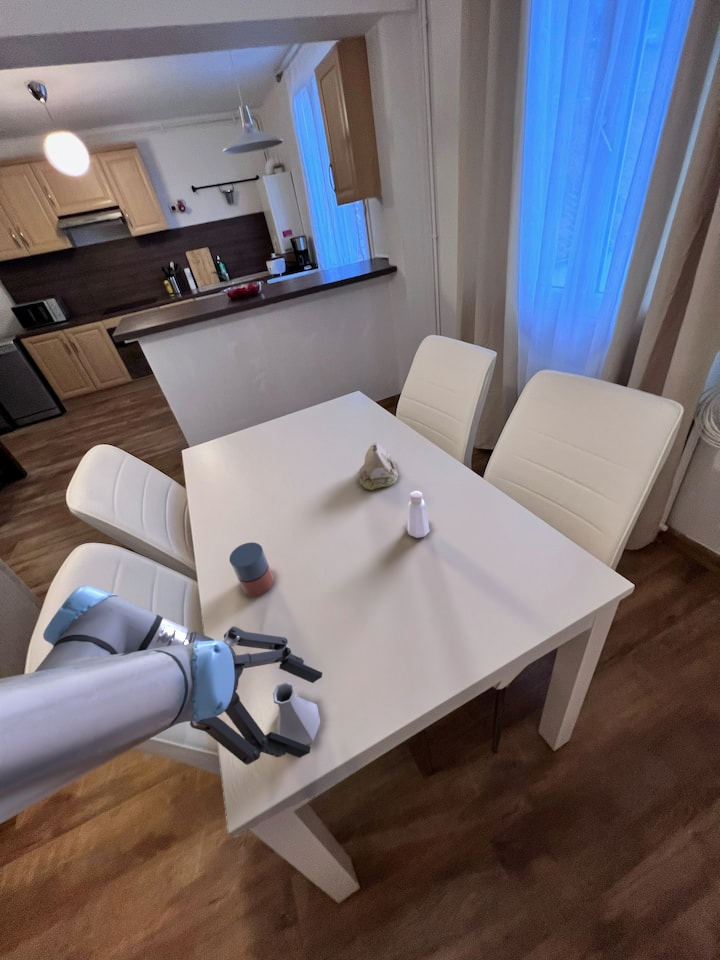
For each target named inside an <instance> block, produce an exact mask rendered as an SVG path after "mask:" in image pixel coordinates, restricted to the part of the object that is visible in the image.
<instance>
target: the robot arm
mask: <svg viewBox="0 0 720 960" xmlns="http://www.w3.org/2000/svg"><path fill="white" fill-rule="evenodd" d="M42 635H43V636H42V637H43V640H44V641H46V643H49V644H51V646H52V648H51V650H49V652H48V653H47V654H46V656H45V657H44V659H43V660H42V661H41V663H40V664H39V665H38V666H37V668H36V669H35V670H34V671H33V672H28V673H22V674H17V675H12V676H7V677H1V678H0V825H1V824H2V823H4V822H6V821H8V820H10V819H12V818H13V817H15V816H17V815H18V814H20V813H22V812H24V811H26V810H27V809H29V808H30V807H31V808H32V807H33V806H34V805H36V804H38V803H39V802H41V801H43V800H45V799H47V798H49V797H50V796H52V795H54V794H56V793H57V792H59V791H61V790H62V789H64V788H66V787H68V786H70V785H71V784H73V783H75V782H77V781H78V780H80V779H82V778H83V777H85V776H87V775H89V774H90V773H92V772H94V771H96V770H98V769H99V768H101V767H103V766H104V765H106V764H108V763H111V762H112V761H113V760H115V759H117V758H119V757H120V756H122V755H125V754H126V753H128V752H129V751H131V750H133V749H134V748H136V747H138V746H140V745H141V744H143V743H146V742H147V741H149V740H150V739H152V738H154V737H155V736H158V735H159V734H161V733H163V732H165V731H167V730H168V729H171V728H172V727H174V726H176V725H179V724H181V723H187V722H188V723H189V725H190V727H191V728H192V729H195V730H198V731H202V732H205V733H207V734H208V735H209V736H210V737H211V738H213V739H214V740H215V741H216V742H217V743H218V744H220V745H221V746H222V747H223V748H225V749H226V750H227V751H228V752H230V753H231V754H232V755H233V756H234V757H236V758H237V759H238V760H239V761H241V762H242V764H244V765H246V766H248V765H250V764H253V763H255V762H256V761H258V760H259V759H260V757H261V754H262V753H263V754H266V755H269V756H272V757H275V758H282V757H283V756H285V755H286V754H287V755H288V754H289V755H291V756H293V757H296V758H299V759H300V758H302V757H305V756H306V755H308V754H310V753H311V746H310V745H308V744H302V743H299V742H297V741H294V740H291V739H289V738H286V737H284V736H281V735H278V733H275V732H273V731H270V732H268V733H267V734H265V733H264V732H263V730H262V729H261V728H260V726H259V725H258V723H257V722H256V720H255V718H253V717H252V715H251V714H250V712H249V711H248V710H247V708H246V707H245V706H244V704H243V703H242V702H241V700H240V699H241V698H240V695H239V694H238V693H237V690H238V687H239V682H240V681H239V680H240V677H241V676H242V674H243V671H244V669H249V668H255V667H261V666H266V665H267V666H268V665H271V664H277V663H279V666H278V670H279V669H280V670H281V671H284V672H286V673H288V674H291V675H293V676H295V677H297V678H300V679H302V680H304V681H307V682H309V683H311V684H314V683H315V682H317V681H319V680H320V679H322V677H323V672H322V671H319V670H317V669H316V668H312V667H310V666H309V665H307V664H304V663H305V660H304V659H303V658H301V657H299V656H297V655H296V654H293V653H292V650H291V648H290V647H288V646H287V644H288V639H287V638H286V637H284V636H277V635H271V634H264V633H257V632H249V631H244V630H243V629H242V628H239V627H237V626H235V625H234V626H231V627H230V628H229V629H228V630H227V631H226V632H225V633H224V634H223V640H219V639H216V640H215V639H214V638H211V637H209V636H207V635H205V634H203V633H200V632H198V631H192V632H190V633H189V628H188V627H186V626H184V625H181V624H179V623H177V622H175V621H172V620H171V619H169V618H166V617H163V616H162V615H159V614H157V613H154V612H152V611H151V610H148V609H146V608H143V607H142V606H139V605H137V604H135V603H133V602H131V601H129V600H127V599H125V598H123V597H120V596H118V595H117V594H115V593H112V592H108V591H105V590H102V589H100V588H97V587H94V586H92V585H81V586H79V587H77V588H76V589H75V590H74V591H72V593H71V594H70V595H68V597H67V598H66V600H65V601H64V602H63V604H62V605H61V607H59V608H58V610H57V611H56V613H55V614H54V616H53V617H52V618H51V619H50V621H49V623H48V624H47V626H46V627H45V629H44V631H43V634H42ZM235 646H238V647H246V648H253V649H260V650H261V649H263V650H268V651H263V652H256V653H242V654H236V652H235V651H234V649H233V647H235ZM269 650H270V651H269ZM223 713H226V715H227V716H228V718H229V719H230V720H231V723H233V725H234V726H235V728H236V729H237V731H238V732H239V733H240V734H239V733H238V732H237V731H236V730H235V729H234V728H232V727H231V726H230V725H229V724H227V723H226V722H225V721H224V720H222V719H221V718H220V717H218V716H221V715H222V714H223Z"/></svg>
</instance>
